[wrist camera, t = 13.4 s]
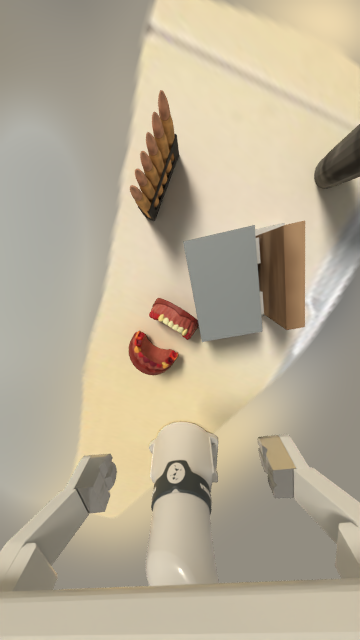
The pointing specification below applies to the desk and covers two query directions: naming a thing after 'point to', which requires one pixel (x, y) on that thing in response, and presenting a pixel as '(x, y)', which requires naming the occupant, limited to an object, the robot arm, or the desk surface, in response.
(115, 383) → the desk surface
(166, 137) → the ammunition clip
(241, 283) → the cabinet
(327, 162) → the beverage cup
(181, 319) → the teeth
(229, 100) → the desk surface
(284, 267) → the door
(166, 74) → the desk surface
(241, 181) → the desk surface
